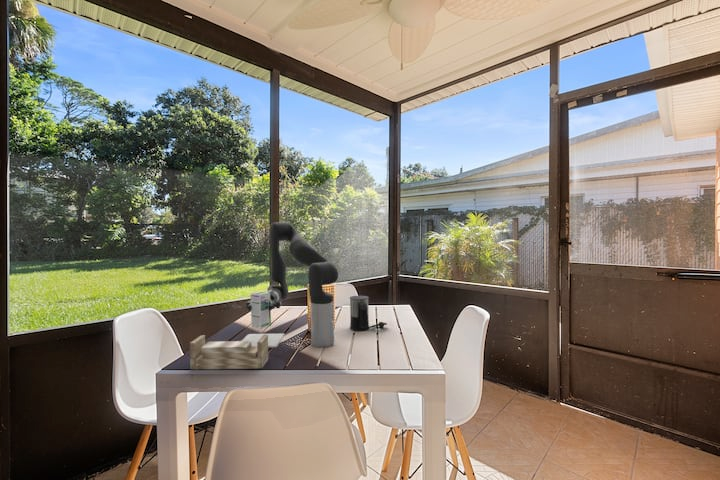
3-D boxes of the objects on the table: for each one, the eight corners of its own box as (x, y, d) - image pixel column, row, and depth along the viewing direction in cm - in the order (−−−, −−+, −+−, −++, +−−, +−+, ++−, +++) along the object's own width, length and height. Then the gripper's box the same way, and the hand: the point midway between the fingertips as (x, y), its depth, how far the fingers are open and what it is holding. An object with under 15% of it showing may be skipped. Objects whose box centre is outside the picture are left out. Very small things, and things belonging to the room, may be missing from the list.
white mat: (284, 334, 149) (284, 333, 149) (276, 347, 133) (276, 346, 133) (248, 335, 148) (248, 333, 148) (235, 348, 132) (235, 346, 132)
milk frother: (346, 327, 159) (345, 296, 159) (373, 322, 168) (373, 293, 167) (362, 335, 147) (361, 301, 147) (390, 329, 156) (390, 297, 155)
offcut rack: (268, 359, 121) (267, 334, 120) (262, 368, 113) (261, 342, 112) (201, 360, 120) (200, 335, 120) (190, 369, 112) (189, 342, 112)
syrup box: (260, 329, 137) (260, 294, 136) (250, 327, 140) (250, 292, 139) (271, 325, 141) (270, 292, 141) (261, 323, 145) (261, 290, 144)
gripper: (253, 291, 154) (242, 299, 138) (284, 291, 154) (276, 299, 138) (254, 307, 155) (242, 317, 138) (285, 307, 155) (276, 317, 138)
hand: (259, 308), depth 138 cm, fingers closed on syrup box, 8 cm apart
